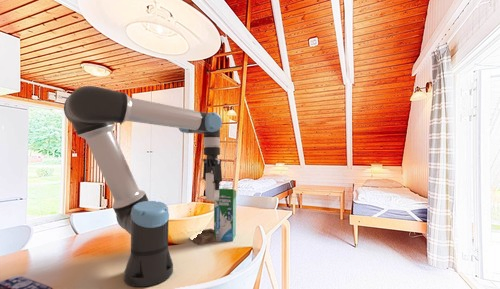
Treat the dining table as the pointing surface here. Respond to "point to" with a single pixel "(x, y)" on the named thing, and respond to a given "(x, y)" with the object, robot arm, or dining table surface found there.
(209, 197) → the paper roll
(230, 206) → the milk carton
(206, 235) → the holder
